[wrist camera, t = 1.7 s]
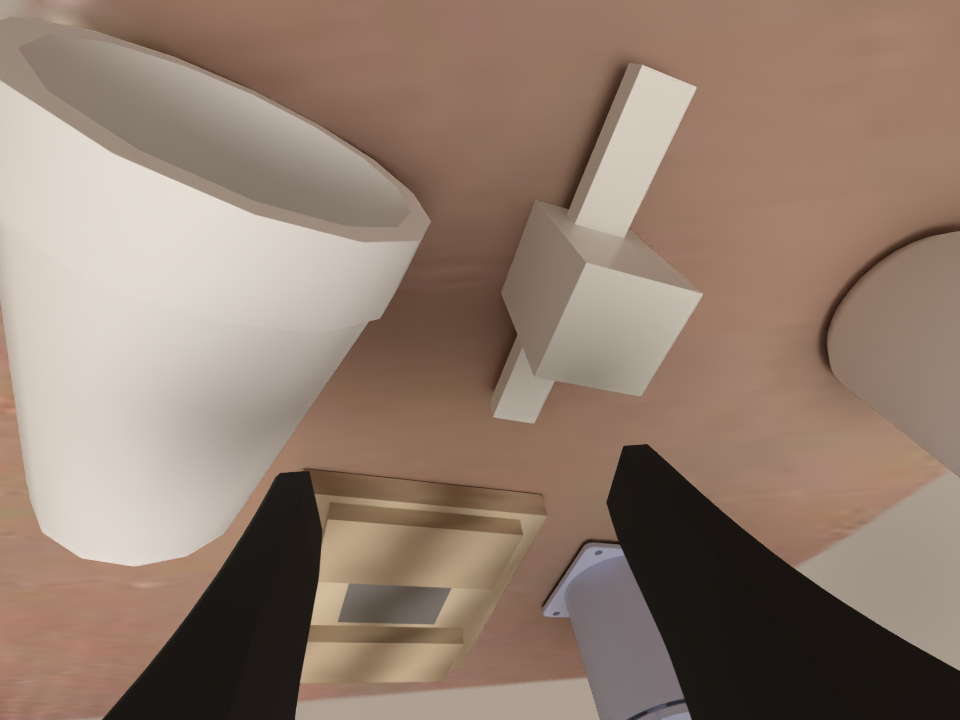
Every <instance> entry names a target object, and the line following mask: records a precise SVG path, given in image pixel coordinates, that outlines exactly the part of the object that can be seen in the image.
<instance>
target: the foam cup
mask: <svg viewBox="0 0 960 720" xmlns="http://www.w3.org/2000/svg"><path fill="white" fill-rule="evenodd" d="M430 223H431V221H430V219H429V218H428V216H427V214H426V213H425V211H424V210H423V208H422V206H421V205H420V203H419V202H418V200H417V198H416V197H415V195H414V194H413V193H412V192H411V191H410V190H409V189H408V188H407V187H405V186H404V185H403V184H402V183H401V182H400V181H398V180H397V179H396V178H395V177H394V176H392V175H391V174H390V173H389V172H388V171H387V170H385V169H384V168H383V167H382V166H381V165H380V164H378V163H377V162H376V161H375V160H373V159H372V158H370V157H369V156H367V155H366V154H364V153H362V152H361V151H359V150H358V149H356V148H355V147H353V146H352V145H350V144H348V143H347V142H345V141H344V140H342V139H341V138H339V137H338V136H336V135H334V134H333V133H331V132H330V131H328V130H327V129H325V128H324V127H322V126H320V125H318V124H317V123H315V122H313V121H311V120H309V119H307V118H305V117H303V116H301V115H299V114H297V113H296V112H294V111H292V110H290V109H288V108H286V107H284V106H282V105H280V104H278V103H276V102H275V101H273V100H271V99H269V98H267V97H265V96H263V95H261V94H259V93H257V92H255V91H254V90H251V89H249V88H247V87H244V86H242V85H240V84H237V83H235V82H233V81H230V80H228V79H226V78H223V77H221V76H218V75H216V74H214V73H211V72H209V71H207V70H204V69H202V68H200V67H197V66H195V65H193V64H190V63H188V62H186V61H183V60H181V59H179V58H176V57H174V56H171V55H168V54H164V53H161V52H158V51H155V50H152V49H149V48H146V47H143V46H140V45H137V44H134V43H131V42H128V41H124V40H121V39H118V38H115V37H112V36H109V35H106V34H103V33H100V32H97V31H94V30H91V29H85V28H79V27H73V26H67V25H61V24H55V23H49V22H43V21H38V20H32V19H26V18H20V17H14V16H12V17H9V18H6V19H3V20H0V302H1V309H2V315H3V322H4V329H5V336H6V343H7V350H8V357H9V364H10V371H11V378H12V385H13V392H14V399H15V406H16V413H17V420H18V427H19V434H20V441H21V448H22V455H23V462H24V469H25V476H26V483H27V486H28V489H29V492H30V494H29V498H30V500H31V503H32V506H33V509H34V511H35V514H36V517H37V519H38V522H39V525H40V528H41V530H42V533H44V534H45V535H47V536H48V537H50V538H51V539H53V540H54V541H56V542H57V543H59V544H61V545H62V546H64V547H65V548H67V549H68V550H70V551H71V552H73V553H74V554H76V555H77V556H79V557H80V558H83V559H89V560H96V561H102V562H109V563H115V564H122V565H128V566H140V565H145V564H150V563H155V562H160V561H166V560H171V559H176V558H181V557H186V556H188V555H190V554H191V553H193V552H195V551H196V550H198V549H199V548H201V547H203V546H204V545H206V544H208V543H209V542H211V541H213V540H214V539H216V538H217V537H219V536H221V535H222V534H224V533H225V531H226V530H227V528H228V527H229V525H230V524H232V522H233V521H234V519H235V518H236V516H237V515H238V513H239V512H240V510H241V509H242V507H243V506H244V504H245V503H246V501H247V500H248V499H249V497H250V496H251V494H252V493H253V491H254V490H255V488H256V487H257V485H258V484H259V482H260V481H261V479H262V478H263V477H264V475H265V474H266V472H267V471H268V469H269V468H270V466H271V465H272V463H273V462H274V460H275V459H276V457H277V456H278V454H279V453H280V452H281V450H282V449H283V447H284V446H285V444H286V443H287V441H288V440H289V438H290V437H291V435H292V434H293V432H294V431H295V430H296V428H297V427H298V425H299V424H300V422H301V421H302V419H303V418H304V416H305V415H306V413H307V412H308V410H309V409H310V407H311V406H312V405H313V403H314V402H315V400H316V399H317V397H318V396H319V394H320V393H321V391H322V390H323V388H324V387H325V385H326V384H327V383H328V381H329V380H330V378H331V377H332V375H333V374H334V372H335V371H336V369H337V368H338V366H339V365H340V363H341V362H342V360H343V359H344V358H345V356H346V355H347V353H348V352H349V350H350V349H351V347H352V346H353V344H354V343H355V341H356V340H357V338H358V337H359V335H360V334H361V333H362V331H363V330H364V328H365V327H366V325H367V324H368V322H369V321H373V320H377V319H380V318H381V316H382V315H383V313H384V311H385V309H386V308H387V306H388V304H389V303H390V301H391V299H392V298H393V296H394V294H395V292H396V291H397V289H398V287H399V285H400V283H401V281H402V279H403V277H404V275H405V273H406V271H407V269H408V267H409V265H410V263H411V261H412V259H413V257H414V255H415V253H416V251H417V249H418V247H419V245H420V243H421V241H422V239H423V237H424V235H425V233H426V231H427V229H428V227H429V225H430Z"/></svg>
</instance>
